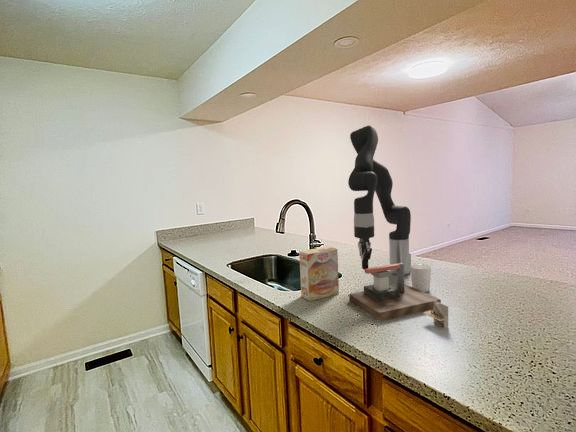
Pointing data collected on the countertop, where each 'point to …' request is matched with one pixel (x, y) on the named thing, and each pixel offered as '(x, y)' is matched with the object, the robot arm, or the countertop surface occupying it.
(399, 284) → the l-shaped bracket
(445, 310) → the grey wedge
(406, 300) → the socket board
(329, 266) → the coffeecake box
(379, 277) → the plug
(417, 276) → the white cup
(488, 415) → the countertop surface
